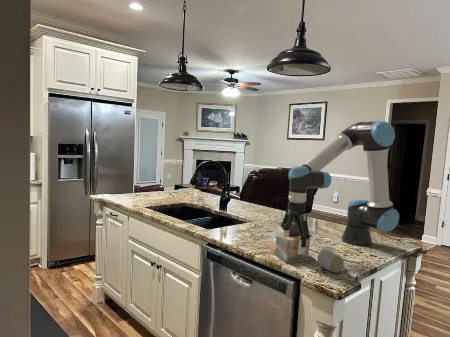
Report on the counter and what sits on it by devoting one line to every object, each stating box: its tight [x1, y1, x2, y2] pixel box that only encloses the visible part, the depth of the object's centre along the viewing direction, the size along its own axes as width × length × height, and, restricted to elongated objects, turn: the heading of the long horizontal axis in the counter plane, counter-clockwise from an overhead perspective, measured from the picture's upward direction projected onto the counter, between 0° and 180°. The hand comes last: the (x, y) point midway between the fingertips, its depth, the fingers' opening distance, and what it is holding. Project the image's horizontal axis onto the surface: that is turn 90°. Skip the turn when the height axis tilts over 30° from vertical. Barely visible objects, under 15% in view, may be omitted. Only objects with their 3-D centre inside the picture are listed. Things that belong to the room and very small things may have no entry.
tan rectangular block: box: [275, 235, 311, 261], centre depth 143 cm, size 13×10×8 cm
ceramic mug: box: [316, 248, 346, 274], centre depth 133 cm, size 11×8×8 cm
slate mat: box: [272, 252, 317, 264], centre depth 144 cm, size 15×11×1 cm
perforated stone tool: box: [289, 222, 300, 236], centre depth 183 cm, size 15×5×7 cm, turn 123°
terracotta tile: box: [264, 242, 276, 253], centre depth 155 cm, size 2×10×12 cm
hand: (293, 249), depth 143 cm, fingers open, 13 cm apart
